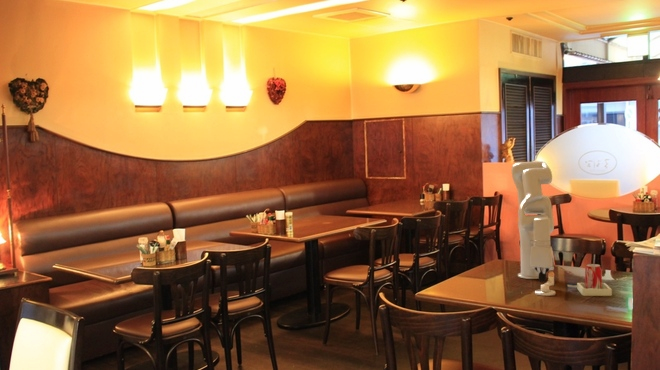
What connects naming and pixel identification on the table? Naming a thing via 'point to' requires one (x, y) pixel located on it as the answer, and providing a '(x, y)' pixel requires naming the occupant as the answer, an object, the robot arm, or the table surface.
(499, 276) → the table surface
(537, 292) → the crank base
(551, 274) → the crank
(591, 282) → the soda can
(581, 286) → the tray
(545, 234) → the robot arm
